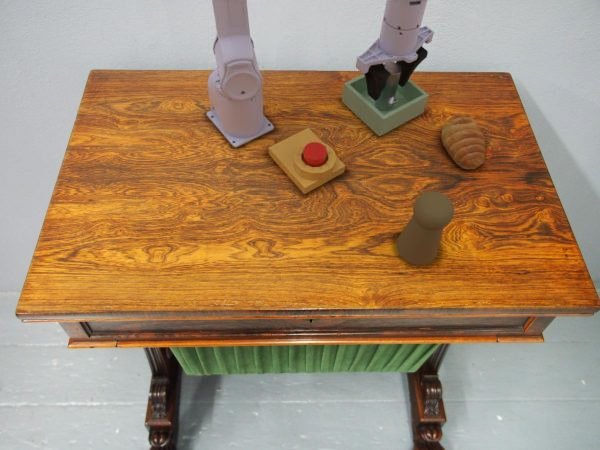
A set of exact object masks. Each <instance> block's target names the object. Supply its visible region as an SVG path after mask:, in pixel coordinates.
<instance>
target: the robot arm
mask: <svg viewBox="0 0 600 450" xmlns="http://www.w3.org/2000/svg"><path fill="white" fill-rule="evenodd" d="M211 4H212V10H213V17H214V22H215V31H216V33H215V34H216V35H215V38H214V40H213V44H212V51H213V54H214V56H215V62H216V68H215V69H214V70H212V72H210V75H209V76H208V78H207V85H206V86H207V93H208V99H209V105H210V110H209V111H207V112H206V116H207V118H208V119H209V120H210V121H211V123H212V124H213V125H214V126H215V128H217V129H218V131H219V132H220V133H221V134H222V135H223V136H224V138H225V139H226V140H227V142H229V144H230V145H231V146H232V147H233V148H238V147H241V146H243V145H245V144H247V143H249V142H251V141H252V140H255V139H257V138H259V137H262V136H263V135H265V134H267V133H270V132H271V131H273V130H274V129H275V126H274V125H273V123H272V122H270V120H269V119H268V118H267V117H266V116H265V115H264V98H263V97H264V95H263V86H264V78H263V75H262V73H261V71H260V67H259V63H258V60H257V55H256V52H255V44H254V40H253V38H252V36H251V30H250V22H249V21H250V20H249V19H250V18H249V11H248V0H211ZM427 4H428V0H386V2H385V6H384V11H383V12H384V13H383V17H382V21H381V28H380V32H379V37H378V38H377V39H376V40H375V41H374V42H373V43H372V44H371V46H369V47H368V48H367V49H366V50H365V51H364V52H363V53H362V54H361V55H358V56H357V57H356V63H355V68H356V69H357V70H358V71H359V72H360V73H361V74H362V75H363V74H364V75H365V78H366V83H367V91H368V95H369V96H370V97H371V98H372V99H374V100H375V101H376V100H378V99H379V97H380V95H381V92H382V88H383V85H384V83H385V81H386V80H387V78H388V77H389V76H390V75H391V73H390V72H389V71H387V70H386V69H385V65H383V64H385V63H389V62H395V63H398V64H399V65H400V66H401V68H402V71H401V75H400V79H399V83H398V84H399V85H400V86H401V87H403V86H405V84H406V83H407V81H408V80H409V79H410V78H411V76H412V74H413V73H414V72H415V70H416V69H417V67H418V66H419V65H420V64H421V63H422V62H423V61H424V60H425V59H426V58H427V57H428V54H429V51H428V50H427V49H426V48H425V47H424V46H423V45H424V44H430V43H432V41H433V37H434V35H435V31H434V30H432V29H431V28H430V27H429V26H427V25H424V26H422V23H423V19H424V16H425V11H426V7H427Z"/></svg>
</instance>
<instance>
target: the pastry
mask: <svg viewBox="0 0 600 450" xmlns="http://www.w3.org/2000/svg"><path fill="white" fill-rule="evenodd" d="M440 136H441V137H440V138H441V142H442V146H443V147H444V149H445V150H446V152H447V154H448V155H449V156H450V158H451V159H452V161H453V162H454V163H455V164H456V165H458V166H459V167H460V168H461V169H463V170H476V169H477V168H478V167H480V166H481V165H482V164H484V162H485V155H486V154H487V153H486V137H485V136H484V133H483V128H482V127H481V126H480V125H479V124H477V123H476V122H475V120H474V119H473V118H472V117H470V116H458V117H456V118H453V119H451V120H449V121H448V122H446V123H445V124H444V125H443V126H442V128H441V135H440Z"/></svg>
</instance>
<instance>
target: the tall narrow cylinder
mask: <svg viewBox="0 0 600 450" xmlns="http://www.w3.org/2000/svg"><path fill="white" fill-rule="evenodd" d="M383 65H385V69H386V70H387V71H389V72H390V73H391V75H390V76H389V77H388V78H387V80H386V81H385V83H384V85H383V88H382V92H381V95H380V97H379V99H378V100H376V101H375V107H376V108H377V109H379V110H381V111H388V110H390V109H391V108H392V107H393V105H394V104H396V103H397V101H398V100H397V99H395V95H396V91H397V87H398V83H399V79H400V75H401V71H402V68H401V66H400V65H399V64H398V63H396V61H395V62H389V63H383Z"/></svg>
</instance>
